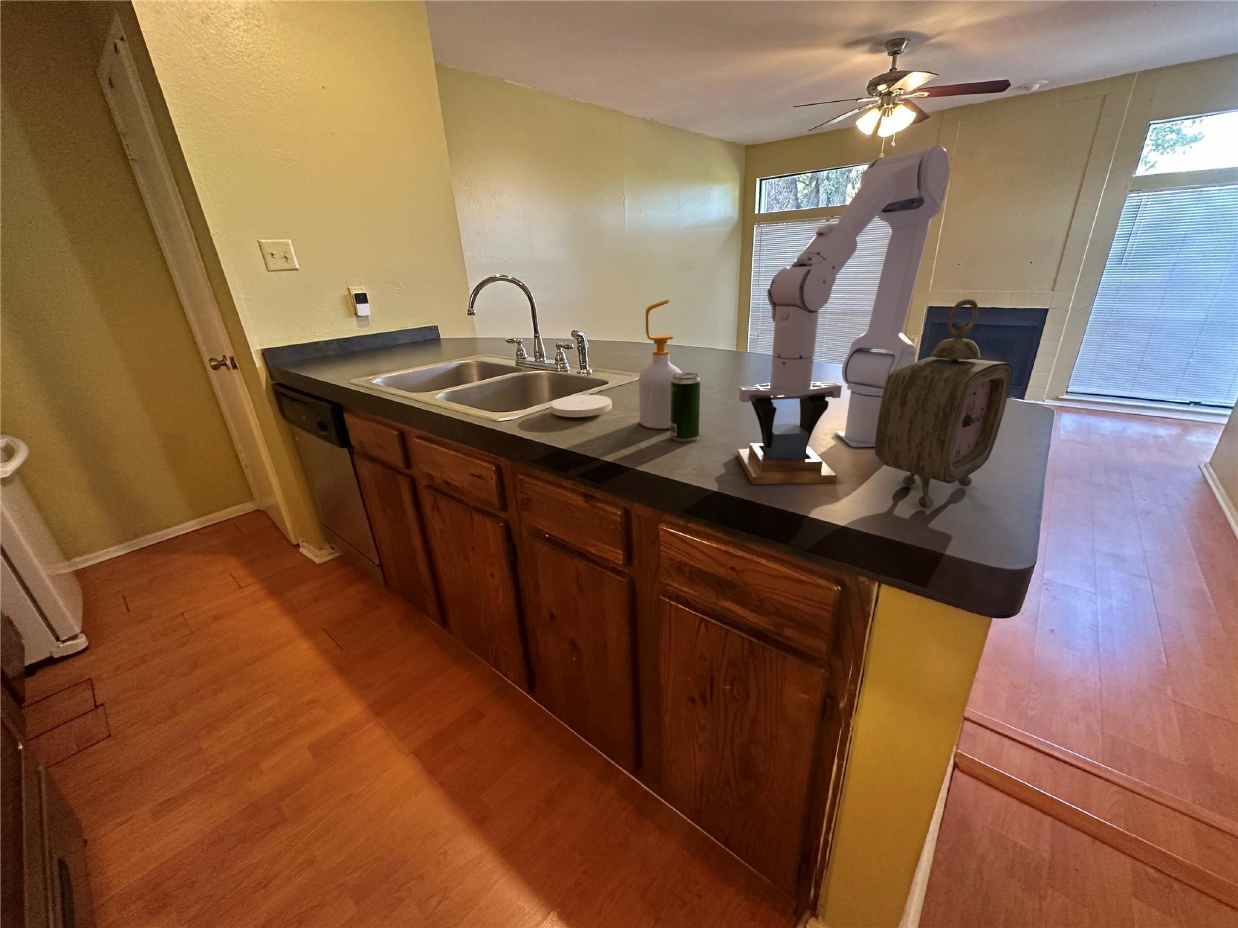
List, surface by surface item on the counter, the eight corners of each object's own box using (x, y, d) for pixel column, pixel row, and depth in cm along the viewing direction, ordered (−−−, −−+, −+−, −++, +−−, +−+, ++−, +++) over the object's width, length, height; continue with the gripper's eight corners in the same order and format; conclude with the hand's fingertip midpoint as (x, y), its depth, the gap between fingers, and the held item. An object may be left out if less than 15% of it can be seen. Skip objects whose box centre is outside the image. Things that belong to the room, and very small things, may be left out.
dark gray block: (794, 447, 77) (796, 423, 75) (806, 458, 72) (808, 433, 71) (763, 448, 77) (764, 424, 75) (773, 459, 72) (775, 434, 71)
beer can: (683, 444, 87) (683, 379, 83) (664, 437, 92) (664, 375, 87) (705, 438, 90) (706, 375, 86) (686, 431, 94) (686, 371, 90)
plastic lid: (569, 403, 119) (568, 393, 118) (621, 407, 114) (620, 396, 113) (540, 419, 107) (539, 408, 106) (596, 423, 102) (595, 412, 101)
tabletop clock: (931, 517, 59) (979, 304, 49) (861, 493, 66) (892, 302, 56) (984, 487, 66) (1034, 296, 57) (915, 468, 73) (950, 295, 64)
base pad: (808, 453, 80) (810, 438, 79) (835, 482, 69) (838, 465, 68) (737, 455, 81) (737, 440, 80) (752, 484, 70) (753, 467, 69)
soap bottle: (685, 428, 96) (687, 300, 87) (640, 430, 96) (637, 302, 87) (680, 416, 104) (681, 298, 95) (639, 418, 105) (636, 300, 96)
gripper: (830, 349, 73) (820, 434, 78) (735, 354, 72) (731, 438, 77) (853, 357, 66) (840, 449, 71) (748, 361, 66) (743, 453, 71)
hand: (784, 444), depth 74 cm, fingers closed on dark gray block, 5 cm apart
